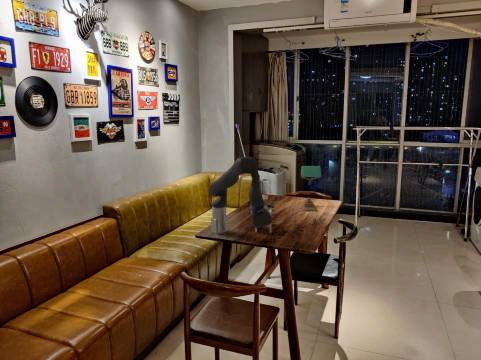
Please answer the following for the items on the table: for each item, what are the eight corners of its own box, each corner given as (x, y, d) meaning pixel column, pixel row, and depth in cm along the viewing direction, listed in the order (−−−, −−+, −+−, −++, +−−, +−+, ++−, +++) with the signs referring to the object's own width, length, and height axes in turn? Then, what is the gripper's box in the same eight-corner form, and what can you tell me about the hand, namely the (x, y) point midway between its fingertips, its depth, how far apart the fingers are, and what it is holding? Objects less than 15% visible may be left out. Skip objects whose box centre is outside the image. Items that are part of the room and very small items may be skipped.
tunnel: (255, 232, 234) (255, 211, 232) (255, 227, 245) (255, 206, 242) (271, 232, 233) (271, 211, 231) (271, 227, 244) (271, 207, 241)
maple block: (258, 216, 215) (258, 199, 214) (258, 211, 227) (258, 194, 225) (267, 217, 215) (267, 199, 213) (267, 211, 227) (267, 195, 225)
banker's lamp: (318, 205, 302) (319, 164, 296) (321, 212, 282) (322, 168, 276) (299, 205, 304) (300, 164, 297) (301, 211, 283) (302, 168, 277)
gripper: (275, 205, 201) (274, 198, 218) (249, 205, 202) (251, 198, 219) (275, 218, 203) (274, 210, 219) (249, 217, 204) (251, 210, 220)
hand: (263, 204), depth 219 cm, fingers closed on maple block, 5 cm apart
